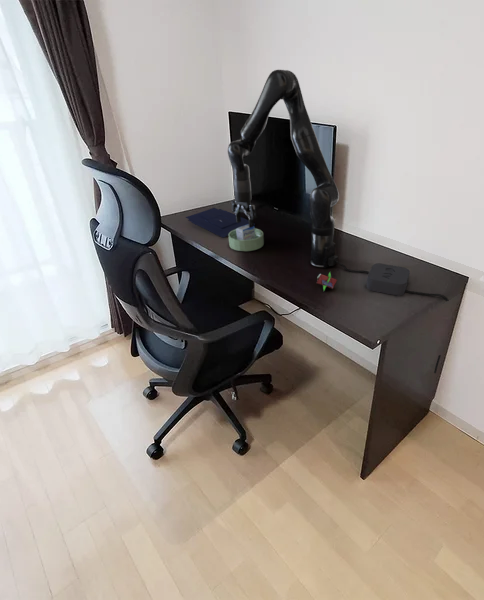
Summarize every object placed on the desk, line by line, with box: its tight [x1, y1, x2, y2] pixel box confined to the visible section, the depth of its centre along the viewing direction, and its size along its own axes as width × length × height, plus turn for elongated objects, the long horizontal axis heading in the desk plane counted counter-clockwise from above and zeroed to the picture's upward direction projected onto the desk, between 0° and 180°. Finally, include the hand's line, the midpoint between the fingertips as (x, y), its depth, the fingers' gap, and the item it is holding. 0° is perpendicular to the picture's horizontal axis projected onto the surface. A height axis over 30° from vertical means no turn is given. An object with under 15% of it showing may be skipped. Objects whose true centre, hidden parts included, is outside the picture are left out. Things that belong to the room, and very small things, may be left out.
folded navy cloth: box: [185, 207, 256, 239], centre depth 196 cm, size 24×30×4 cm
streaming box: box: [365, 262, 411, 296], centre depth 142 cm, size 14×14×5 cm
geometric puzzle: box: [316, 271, 338, 292], centre depth 139 cm, size 7×7×8 cm
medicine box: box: [236, 224, 256, 240], centre depth 173 cm, size 8×4×9 cm, turn 143°
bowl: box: [227, 227, 265, 252], centre depth 174 cm, size 16×16×6 cm
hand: (244, 224), depth 170 cm, fingers open, 8 cm apart
